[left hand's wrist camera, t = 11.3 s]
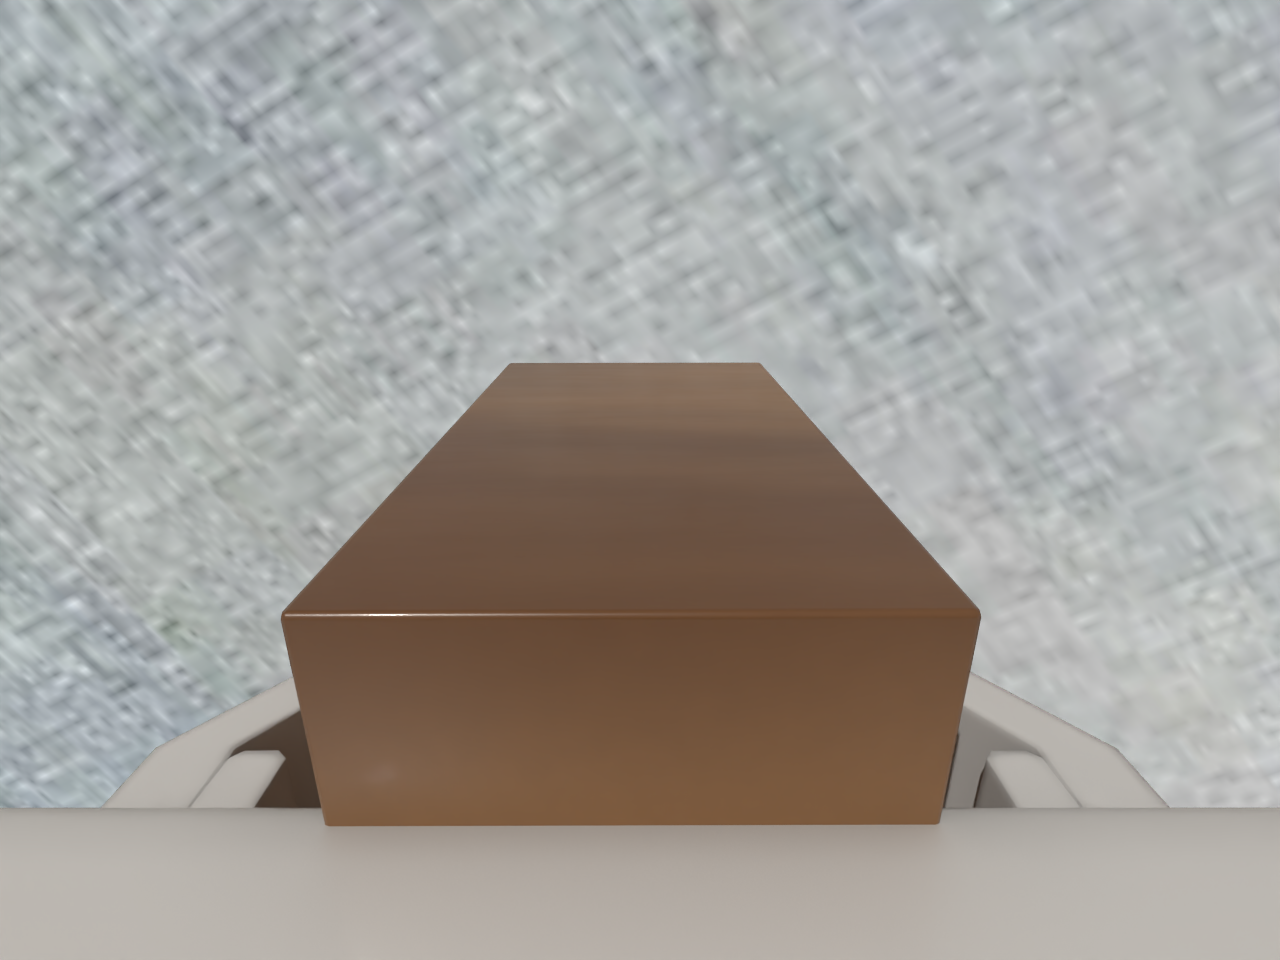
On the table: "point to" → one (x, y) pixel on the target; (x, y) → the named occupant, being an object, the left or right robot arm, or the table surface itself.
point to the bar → (632, 620)
